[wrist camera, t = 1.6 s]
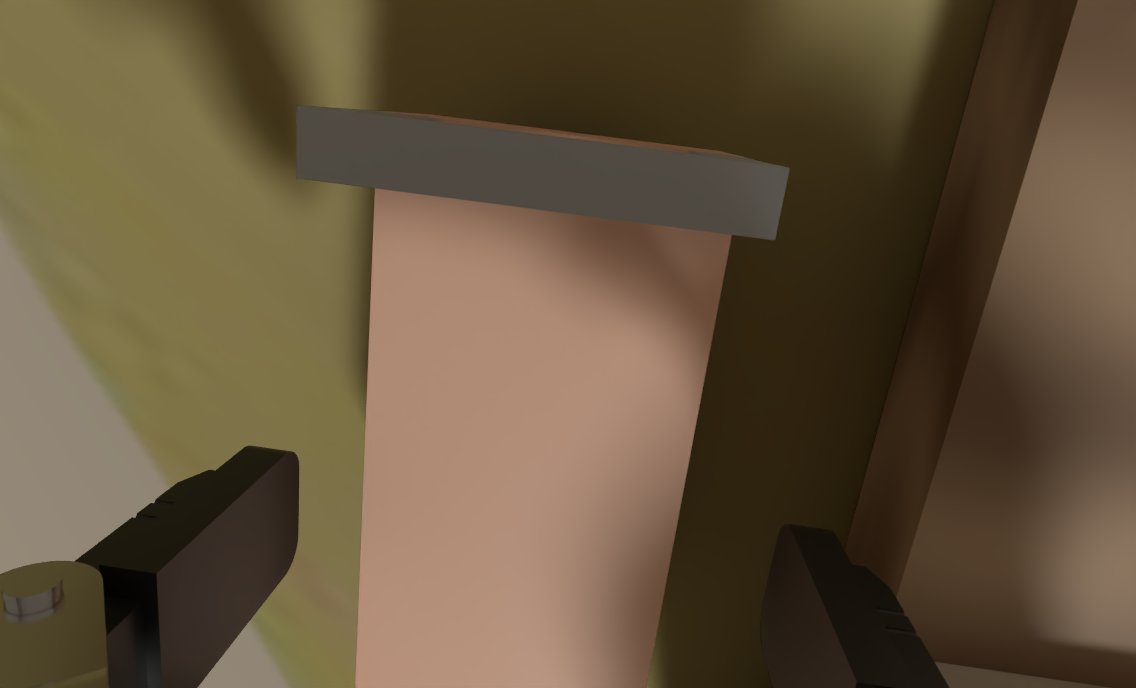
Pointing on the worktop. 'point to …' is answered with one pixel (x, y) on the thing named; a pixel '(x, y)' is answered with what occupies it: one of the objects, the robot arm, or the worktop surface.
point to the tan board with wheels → (528, 386)
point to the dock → (1022, 371)
